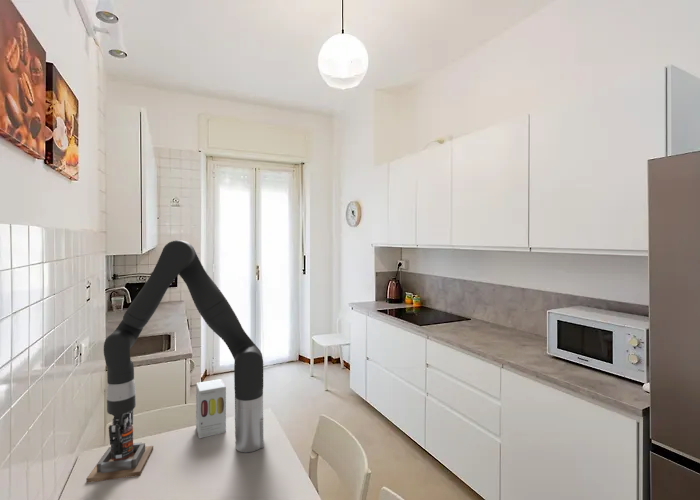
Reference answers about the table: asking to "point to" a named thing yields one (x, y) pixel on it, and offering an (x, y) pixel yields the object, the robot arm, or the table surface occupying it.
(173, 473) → the table surface
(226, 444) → the table surface
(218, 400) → the supplement box
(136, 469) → the collar holder
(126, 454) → the supplement bottle
